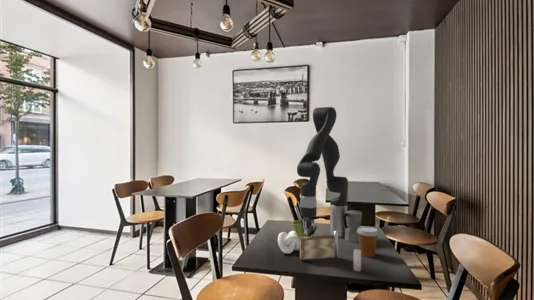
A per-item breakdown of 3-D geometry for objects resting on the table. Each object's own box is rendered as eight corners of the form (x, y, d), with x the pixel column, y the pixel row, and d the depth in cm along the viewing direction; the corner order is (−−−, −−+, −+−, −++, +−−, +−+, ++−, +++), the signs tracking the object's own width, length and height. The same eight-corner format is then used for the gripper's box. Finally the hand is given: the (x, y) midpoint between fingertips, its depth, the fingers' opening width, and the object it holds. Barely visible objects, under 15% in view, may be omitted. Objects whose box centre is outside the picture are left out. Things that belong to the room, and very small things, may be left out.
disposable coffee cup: (364, 259, 130) (364, 232, 130) (352, 251, 139) (353, 227, 139) (382, 257, 133) (383, 231, 132) (370, 250, 142) (370, 225, 142)
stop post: (351, 268, 121) (352, 249, 120) (358, 267, 121) (358, 248, 121) (355, 271, 118) (355, 252, 118) (362, 271, 118) (362, 251, 118)
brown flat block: (332, 255, 133) (332, 234, 133) (334, 256, 132) (334, 235, 131) (299, 258, 130) (299, 236, 130) (301, 259, 128) (301, 237, 128)
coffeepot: (352, 235, 165) (353, 203, 164) (367, 239, 157) (368, 206, 157) (335, 241, 155) (336, 207, 155) (351, 245, 148) (351, 210, 147)
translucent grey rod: (333, 256, 133) (333, 230, 133) (336, 256, 134) (336, 230, 133) (334, 258, 132) (335, 231, 131) (338, 257, 132) (338, 231, 132)
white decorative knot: (286, 257, 132) (286, 238, 132) (271, 249, 142) (271, 231, 142) (305, 252, 138) (305, 234, 138) (289, 245, 148) (290, 227, 148)
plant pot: (310, 241, 155) (310, 225, 154) (292, 241, 155) (292, 224, 155) (308, 235, 164) (308, 220, 164) (291, 235, 164) (291, 220, 164)
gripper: (295, 203, 139) (294, 239, 139) (307, 208, 126) (306, 248, 127) (309, 202, 141) (309, 237, 142) (322, 207, 129) (322, 246, 129)
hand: (308, 242), depth 134 cm, fingers closed
